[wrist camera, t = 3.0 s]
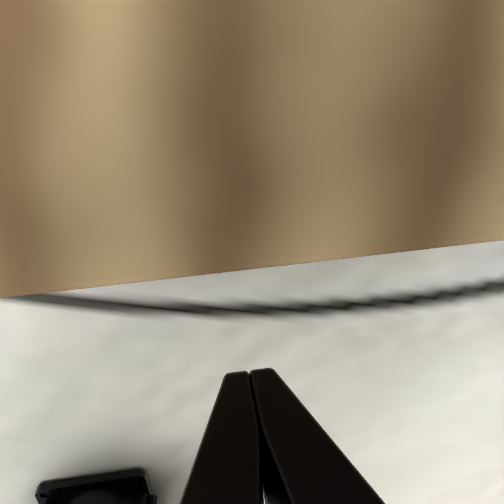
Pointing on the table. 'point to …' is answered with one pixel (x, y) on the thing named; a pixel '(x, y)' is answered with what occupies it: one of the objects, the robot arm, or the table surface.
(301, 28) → the oak plank
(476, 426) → the table surface
